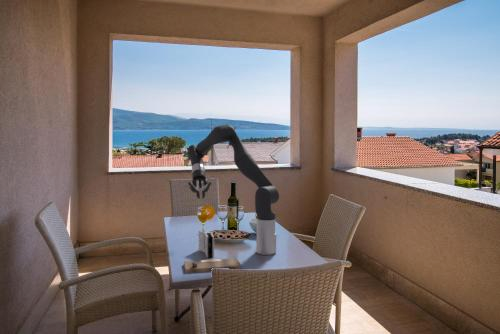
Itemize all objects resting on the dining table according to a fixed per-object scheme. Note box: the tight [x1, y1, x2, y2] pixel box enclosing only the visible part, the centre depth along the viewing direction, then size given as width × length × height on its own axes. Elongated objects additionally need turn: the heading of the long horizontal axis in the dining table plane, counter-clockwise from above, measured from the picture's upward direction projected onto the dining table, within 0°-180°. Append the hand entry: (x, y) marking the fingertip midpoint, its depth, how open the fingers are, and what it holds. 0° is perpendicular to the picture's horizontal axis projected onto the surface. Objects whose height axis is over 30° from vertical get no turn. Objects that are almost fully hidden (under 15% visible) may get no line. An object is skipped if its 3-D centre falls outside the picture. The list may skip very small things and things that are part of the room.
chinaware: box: [249, 217, 257, 235], centre depth 223 cm, size 15×15×8 cm
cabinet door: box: [183, 257, 242, 274], centre depth 166 cm, size 24×10×3 cm, turn 104°
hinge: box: [198, 230, 216, 259], centre depth 184 cm, size 14×5×10 cm, turn 26°
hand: (201, 197), depth 204 cm, fingers closed
